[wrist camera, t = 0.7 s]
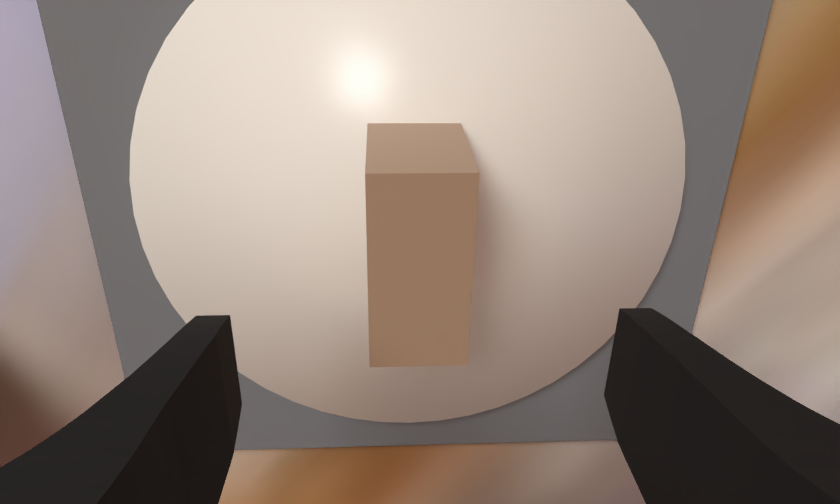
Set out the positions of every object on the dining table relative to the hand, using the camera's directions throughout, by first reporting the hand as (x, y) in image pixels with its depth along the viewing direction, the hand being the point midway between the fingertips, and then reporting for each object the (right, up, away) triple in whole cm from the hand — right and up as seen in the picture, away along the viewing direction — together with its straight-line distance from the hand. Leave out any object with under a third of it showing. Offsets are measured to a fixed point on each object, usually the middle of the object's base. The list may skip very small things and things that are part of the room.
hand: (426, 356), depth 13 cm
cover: (0, +3, +6) cm, 7 cm away
